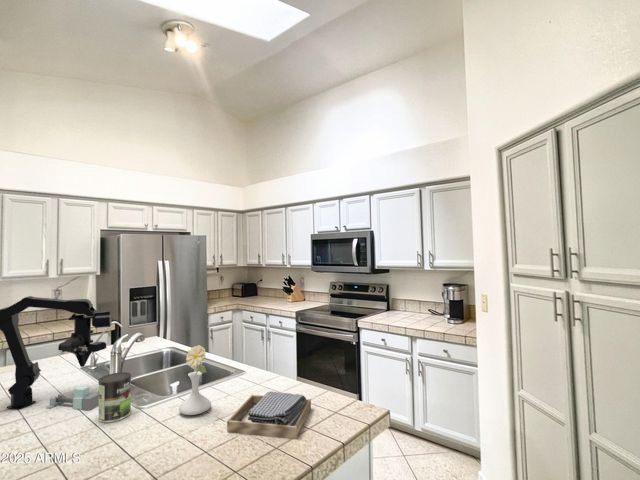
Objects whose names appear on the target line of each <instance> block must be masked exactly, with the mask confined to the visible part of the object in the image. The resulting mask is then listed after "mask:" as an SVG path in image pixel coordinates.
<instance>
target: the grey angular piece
mask: <svg viewBox="0 0 640 480" xmlns="http://www.w3.org/2000/svg"><path fill="white" fill-rule="evenodd" d="M64 396H65V394H62V393H60V394H57V396H55V397H51V398H49V405H47V406H46V407H45V409H46V410H47V409H50V410H52V409H53V408H55V407H57V405H58V406H60V405H62V404H64V403H69V404H73V398H70V397H64ZM97 407H99V393H90V395H89V396H87V397H85V398H83V409H82V411H91V410H93V409H95V408H97Z"/></svg>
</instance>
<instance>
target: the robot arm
mask: <svg viewBox="0 0 640 480" xmlns="http://www.w3.org/2000/svg"><path fill="white" fill-rule="evenodd" d="M92 305H93V303H92V302H91V300H90V299H88V298H77V299H75V298H74V299H57V298H49V297H37V296H33V295H28V296H25V297H22V298H21V300H19V301H17V302H15V303H13V304H12V305H10V306H6V307H3V308H1V309H0V331H1V332H2V333H3V335H4V337H5V338H4V339H5V341H6V344H7V346H8V349H9V352H10V354H11V357H12V360H13V362H14V365H15V370H14V371H15V372H14V377H15V383H13V384H12V386H10V387H9V388H8V389H7V391H8V393H9V395H10V404H9V405H8V406H6V409H9V410H12V409H13V410H21V409H23V408H26V407H28V406H31V405H32V404H35V403H37V401H36V400H33V387H32V386H33V384H34V383H35V382H36V381H37V380H38V379H39V377H40V375H41V373H40V372H41V371H42V369H40V367H39V362H38V361H36V362H35V363H34V362H33V361H31V359H30V357H29V354H28V351H27V348H26V346H25V343H24V341H23V337H22V334H21V333H20V332H21V331H20V329H19V320H20V319H19V314H20V313H21V312H24V311H25V310H26V309H29V308H40V309H50V310H51V309H52V310H63V311H67V312H69V313H72V314H71V316H70V317H69V318H68V321H74V332H71V334H70V337H69V338H67V339H66V340H65V341H63V342H60V343H59V344H58V347H57V349H58V351H61V352H63V353H65V352H66V353H70V354H73V355H75V357H76V359H77V362H78V364H79V367H81V368H84V367H85V366H86V364H87V362H88V359H89V358H90V356H91V355H92V353H97V352H99V351H103V350H105V349H107V343H106V342H105V341H96V342H94V339H92V334H93V333H94V330H93V329H92V327H94V328H95V329H100V328H101V329H102V328H110V327H111V326H112V322H113V321H112V320H113V319H112V316H111V315H112V313H111V310H106V311H97V310H96V309H95V308H94V306H92Z"/></svg>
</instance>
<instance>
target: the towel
mask: <svg viewBox="0 0 640 480" xmlns="http://www.w3.org/2000/svg"><path fill="white" fill-rule="evenodd" d="M262 396H263V397H262V398H261V399H260V401H259V402H258V403H257V404H256V405H253V406H252V407H251V408H250V409H249V411H248V412H247V414H248V418H247V420H248V421H250V422H255V423H266V424H276V425H287V426H295V424H296V422H297V420H298V419H299V417H300V415H301V413H302V411H303V409H304V407H305V406H306V405H305V402H306V399H307V398H306V396H304V395H303V394H294V393H290V392H289V393H288V392H279V391H268V392H266V393H264V394H263V395H262Z"/></svg>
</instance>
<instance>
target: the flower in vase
mask: <svg viewBox="0 0 640 480" xmlns="http://www.w3.org/2000/svg"><path fill="white" fill-rule="evenodd" d="M205 358H206V349H205V347H203V346H202V345H200V344H198V345H197V346H196V345H194V346H192V347H191V348H190V350H188V353H187V354H186V358H185V361H186V363H185V364H186V365H187V366H188V367H190V368H191V369H193V370H195V371H193V372H189V373H188V374H187V376H188V377H189V378H190V381H191V393H190V395H189V396H188V397H187V398H185V399H184V400H183V402H182V403H181V404H180V405H179V408H178V411H179V413H180V414H182V415H186V416H193V415H199V414H202V413H205V412H206V411H208V410H210V408H211V406H212V402H211V400H210V399H209V398H207V397H206V396H204V395H203V394H201V393H200V391H199V390H200V389H199V381H200V378H201V376H202V375H203V374H204V373H208V371H207V369H206V366H205V365H201V364H202V363H203V361H204V359H205ZM198 366H199V367H198ZM197 367H198V368H197Z"/></svg>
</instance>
